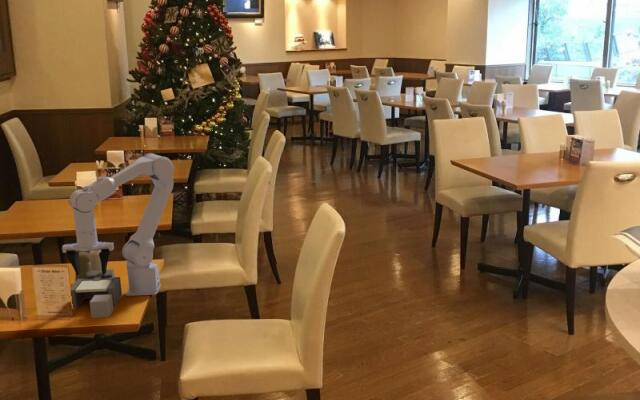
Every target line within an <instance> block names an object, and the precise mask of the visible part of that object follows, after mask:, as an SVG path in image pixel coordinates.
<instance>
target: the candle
mask: <svg viewBox="0 0 640 400" xmlns="http://www.w3.org/2000/svg"><path fill="white" fill-rule="evenodd" d="M100 252H101V250H98V251H88V253H89V255H90V260H89V264H90V268H91V271H93V270H102V267H101V261H100V257H99V253H100ZM107 270H109V267H108V265H107Z"/></svg>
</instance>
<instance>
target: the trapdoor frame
mask: <svg viewBox="0 0 640 400" xmlns="http://www.w3.org/2000/svg"><path fill="white" fill-rule="evenodd" d="M101 280H112V282H111V284H110V285H109V287H108V288H107V291H96V292H76V291H75V290H76V289H77V287H78V286H79V285H80V283H81V282H82V281H95V280H94V278H86V279H77V281H76V282H74V283H73V285H72V286H70V288H71V296H72V304H73V308H74V309H73V310H76V309H78V308H79V306H80V305H81V304H82V302H83V300H84V299H92V298H93V297H94V295H109V294H112V302H113V308H115V307H116V306H117V304H118V303H119V300H120V299H121V298H122V296H123V291H122V290H123V289H122V283H121V282H122V281H121V276H115V277H108V278H101Z"/></svg>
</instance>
